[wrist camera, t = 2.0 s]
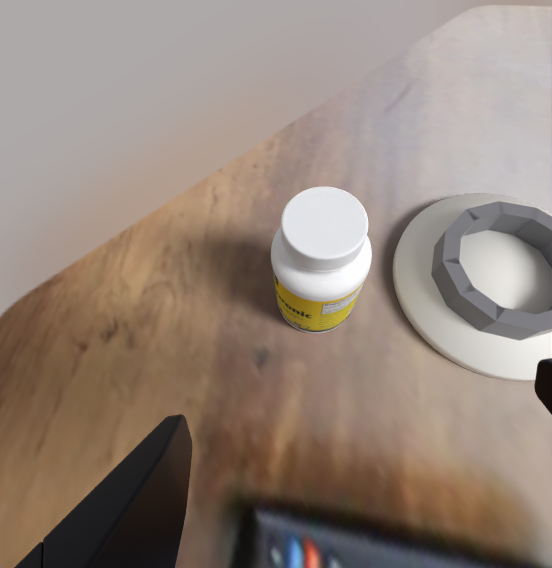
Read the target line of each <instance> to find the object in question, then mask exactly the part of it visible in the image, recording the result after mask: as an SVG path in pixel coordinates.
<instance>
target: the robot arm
mask: <svg viewBox="0 0 552 568" xmlns="http://www.w3.org/2000/svg"><path fill="white" fill-rule="evenodd" d="M535 392H536V394H537V396H538V398H539V399H540V400H541V402H542V403H543V404H544V405H545V407H546V408H547V409H548V411H549V412H550V413H551V414H552V358H548V359H542V360H540V361H539V363H538V365H537V371H536V379H535ZM191 458H192V439H191V436H190V432H189V429H188V425H187V422H186V418H185V417H184V415H182V414H180V415H173V416H168V417H166V418H165V419H164V420H163V421H162V422H161V423H160V424H159V425H158V426H157V427H156V428H155V429H154V430H153V431H152V432H151V433H150V434H149V435H148V436H147V437H146V438H145V439H144V440H143V441H142V442H141V443H140V444H139V445H138V446H137V447H136V448H135V449H134V450H133V451H132V452H131V453H130V454H129V455H128V456H127V457H126V458H125V459H124V460H123V461H122V462H121V463H119V464H118V465H117V466H116V467H115V468H114V469H113V470H112V471H111V472H110V473H109V474H108V475H107V476H106V477H105V478H104V479H103V480H102V481H101V482H100V483H99V484H98V485H97V486H96V487H95V488H94V489H93V490H92V491H91V492H90V493H89V494H88V495H87V496H86V497H85V498H84V499H83V500H82V501H81V502H80V503H79V504H78V505H77V506H76V507H75V508H74V509H73V510H72V511H71V512H70V513H69V514H68V515H67V516H66V517H65V518H64V519H63V520H62V521H61V522H60V523H59V524H58V525H57V526H56V527H55V528H54V529H53V530H52V531H51V532H50V533H49V534H48V535H47V536H46V537H45V538H44V540H43V542H40V543H39V544H38V545H37V546H36V547H35V548H34V549H33V550H32V551H31V552H30V553H29V554H28V555H27V556H26V557H25V558H24V559H23V560H21V561H20V562H19V563H18V564H17V565H16V566H15V567H14V568H175V564H176V560H177V555H178V550H179V545H180V540H181V535H182V530H183V526H184V520H185V514H186V507H187V498H188V488H189V478H190V468H191Z"/></svg>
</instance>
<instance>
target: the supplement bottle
mask: <svg viewBox="0 0 552 568" xmlns="http://www.w3.org/2000/svg"><path fill="white" fill-rule="evenodd" d="M367 231H368V217H367V214H366V211H365V209H364V207H363V206H362V204H361V203H360V202H359V201H358V200H357V199H356V198H355V197H354V196H352V195H351V194H350V193H348V192H346V191H343V190H341V189H337V188H333V187H314V188H310V189H307V190H304V191H302V192H300V193H299V194H297V195H296V196H294V197H293V198H292V199H291V200H290V201H289V202H288V204H287V205H286V207H285V209H284V211H283V214H282V217H281V227H280V228H279V230H278V231H277V233H276V234H275V237H274V239H273V242H272V246H271V264H272V270H273V277H274V283H275V290H276V299H277V302H278V306H279V309H280V312H281V314H282V315H283V317H284V318H285V319H286V321H287V322H288V323H289V324H291V325H292V326H293V327H295V328H297V329H299V330H301V331H303V332H307V333H324V332H328V331H331V330H333V329H335V328H337V327H338V326H340V325H341V324H342V323H343V322H344V321H345V320H346V319H347V317H348V316H349V314H350V312H351V310H352V308H353V306H354V304H355V301H356V299H357V297H358V294H359V292H360V290H361V288H362V285H363V283H364V281H365V279H366V276H367V274H368V272H369V268H370V264H371V258H372V250H371V244H370V241H369V238H368V236H367Z"/></svg>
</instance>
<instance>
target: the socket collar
mask: <svg viewBox="0 0 552 568" xmlns="http://www.w3.org/2000/svg"><path fill="white" fill-rule="evenodd" d="M392 272H393V283H394V288H395V293H396V295H397V298H398V301H399V304H400V306H401V308H402V310H403V312H404V314H405V316H406V317H407V319H408V320H409V322H410V323H411V325H412V326H413V327H414V329H415V330H416V331H417V332H418V333H419V334H420V336H421V337H422V338H423V339H424V340H425V341H426V342H427V343H428V344H430V345H431V346H432V347H433V348H434V349H435V350H437V351H438V352H439V353H441V354H442V355H443V356H445V357H446V358H448V359H449V360H451V361H453V362H454V363H456V364H458V365H459V366H462V367H464V368H466V369H468V370H470V371H473V372H475V373H478V374H481V375H484V376H487V377H491V378H496V379H501V380H508V381H535V379H536V371H537V365H538V363H539V361H540V360H542V359H548V358H552V213H550V212H548V211H546V210H544V209H542V208H540V207H538V206H535V205H533V204H531V203H528V202H525V201H522V200H519V199H516V198H512V197H508V196H503V195H496V194H485V193H474V194H463V195H457V196H453V197H449V198H446V199H443V200H441V201H438V202H436V203H434V204H432V205H430V206H429V207H427V208H425V209H424V210H423V211H421V212H420V213H419V214H418V215H417V216H416V217H415V218H414V219H413V220H412V221H411V222H410V223H409V225H408V226H407V228H406V229H405V231H404V233H403V235H402V236H401V238H400V240H399V243H398V245H397V247H396V250H395V254H394V258H393V268H392Z"/></svg>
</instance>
